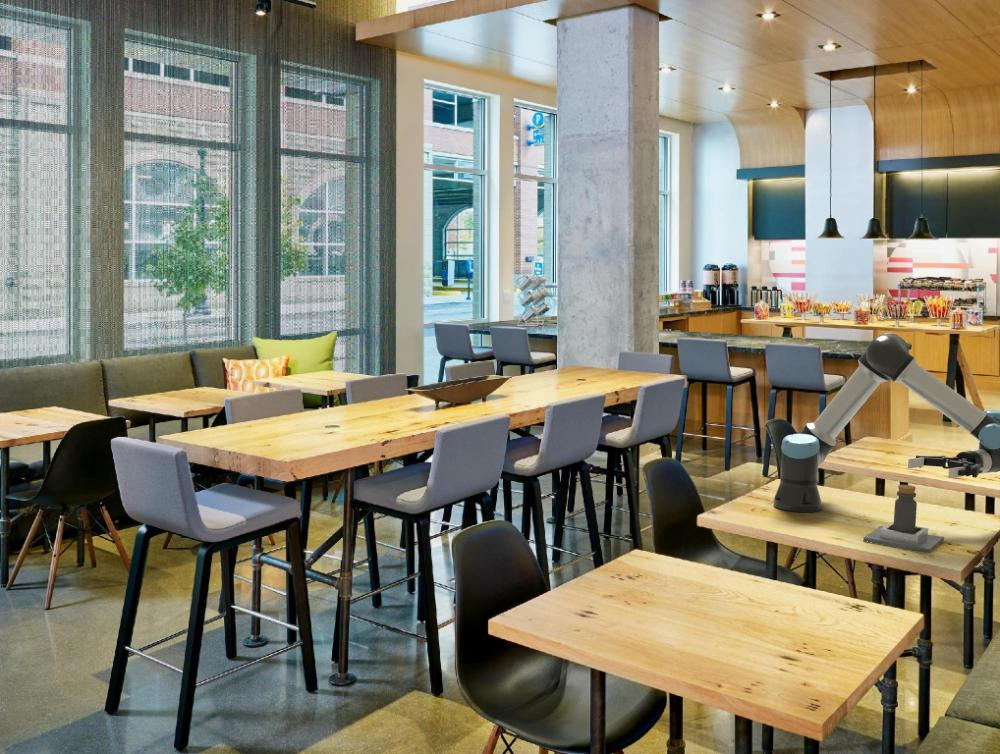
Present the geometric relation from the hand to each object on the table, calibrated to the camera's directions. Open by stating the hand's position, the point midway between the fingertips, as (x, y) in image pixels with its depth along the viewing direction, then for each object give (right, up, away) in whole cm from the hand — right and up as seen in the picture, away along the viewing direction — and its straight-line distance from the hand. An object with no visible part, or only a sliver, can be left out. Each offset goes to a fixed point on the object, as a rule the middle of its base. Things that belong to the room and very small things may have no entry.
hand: (929, 468), depth 291 cm
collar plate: (-10, -20, -7) cm, 24 cm away
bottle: (-10, -19, -7) cm, 23 cm away
